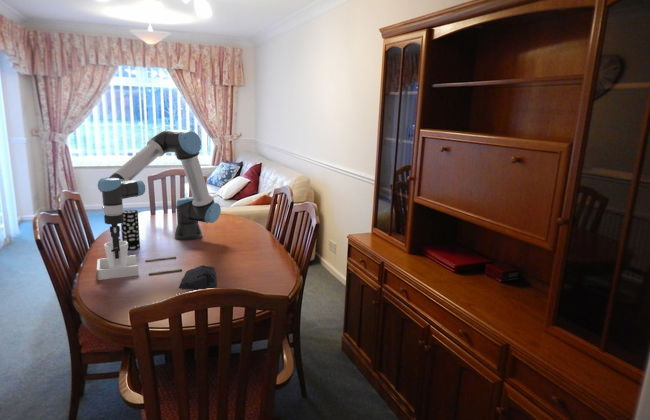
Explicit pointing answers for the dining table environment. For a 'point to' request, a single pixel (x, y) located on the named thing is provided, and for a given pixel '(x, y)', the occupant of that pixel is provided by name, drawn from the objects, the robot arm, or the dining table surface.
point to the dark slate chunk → (199, 278)
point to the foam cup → (123, 253)
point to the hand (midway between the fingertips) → (117, 260)
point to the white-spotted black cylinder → (131, 229)
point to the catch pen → (116, 269)
